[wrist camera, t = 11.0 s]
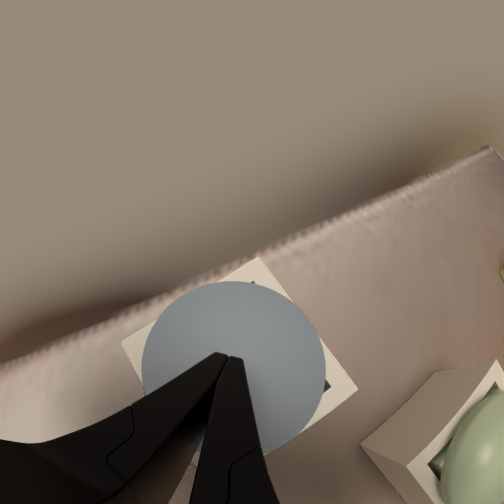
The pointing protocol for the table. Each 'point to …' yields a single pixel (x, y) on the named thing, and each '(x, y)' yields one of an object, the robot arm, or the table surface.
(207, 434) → the robot arm
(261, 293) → the slate blue button
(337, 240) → the table surface
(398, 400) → the table surface
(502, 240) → the table surface
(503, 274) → the candy box
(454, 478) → the sage green button
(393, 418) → the button housings
